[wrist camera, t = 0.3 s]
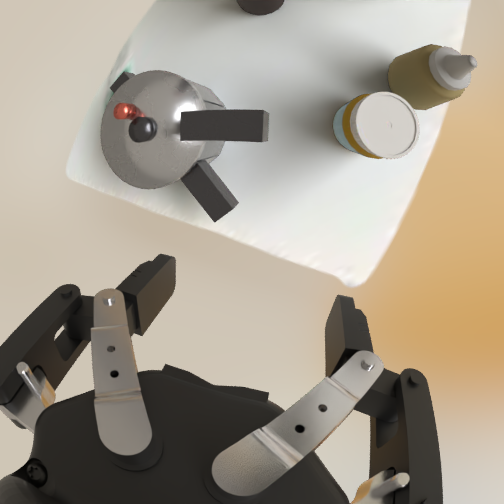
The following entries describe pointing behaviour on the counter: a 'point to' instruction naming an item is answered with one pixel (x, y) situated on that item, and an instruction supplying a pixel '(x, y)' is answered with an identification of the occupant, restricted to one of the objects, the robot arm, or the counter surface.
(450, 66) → the squeeze bottle
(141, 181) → the lid
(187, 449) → the robot arm
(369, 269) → the counter surface
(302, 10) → the counter surface
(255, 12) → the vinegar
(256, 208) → the counter surface
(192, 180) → the pot
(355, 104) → the bottle
